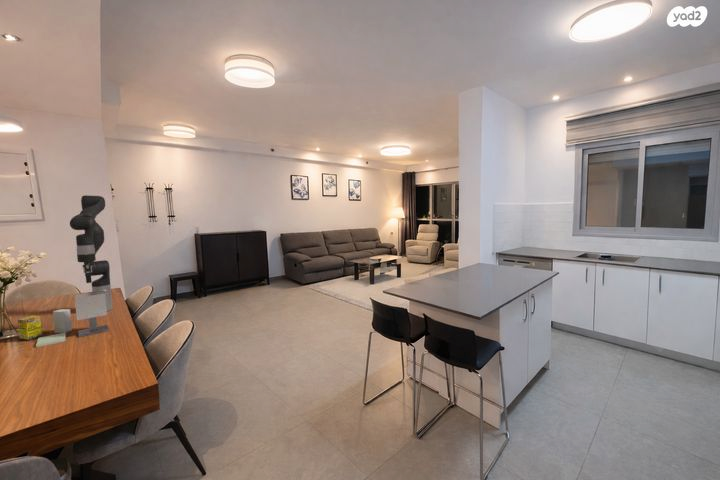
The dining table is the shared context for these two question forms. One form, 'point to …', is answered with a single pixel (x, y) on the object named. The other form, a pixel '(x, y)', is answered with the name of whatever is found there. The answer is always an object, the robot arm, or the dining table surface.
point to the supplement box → (29, 328)
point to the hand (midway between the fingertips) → (88, 281)
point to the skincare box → (62, 320)
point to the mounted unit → (91, 311)
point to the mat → (51, 339)
